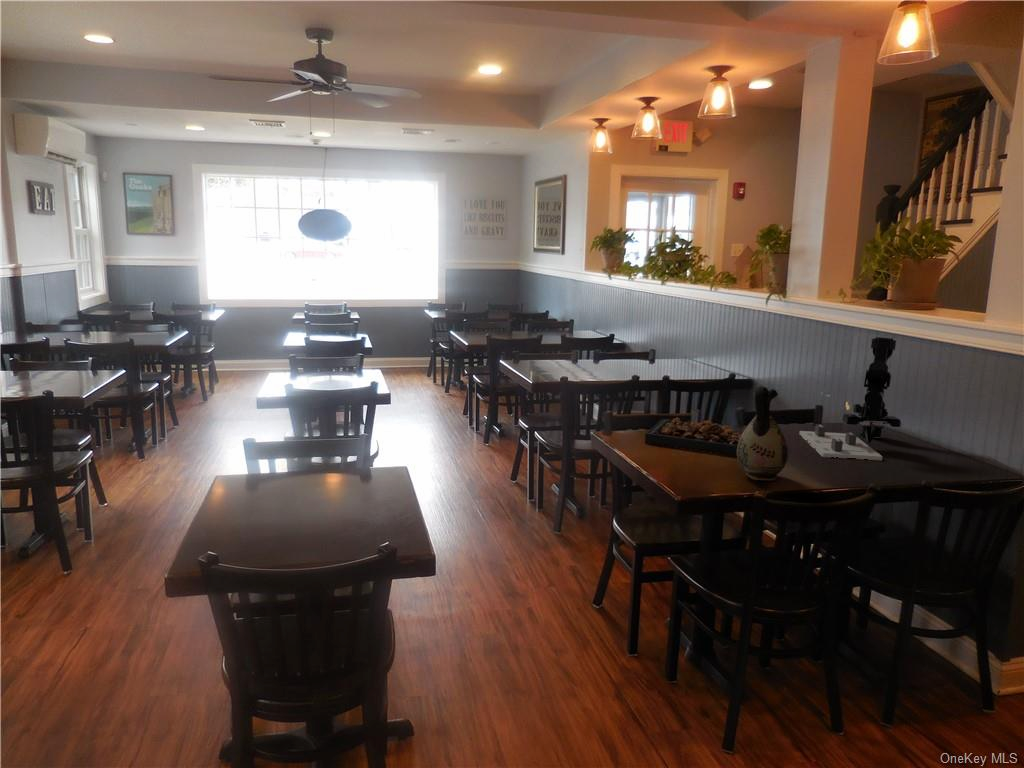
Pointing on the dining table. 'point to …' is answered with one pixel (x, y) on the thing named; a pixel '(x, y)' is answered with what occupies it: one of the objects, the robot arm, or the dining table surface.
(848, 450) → the switch panel
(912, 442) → the dining table surface
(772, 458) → the ceramic jug
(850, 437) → the block
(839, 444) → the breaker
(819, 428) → the block
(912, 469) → the dining table surface
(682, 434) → the food platter
